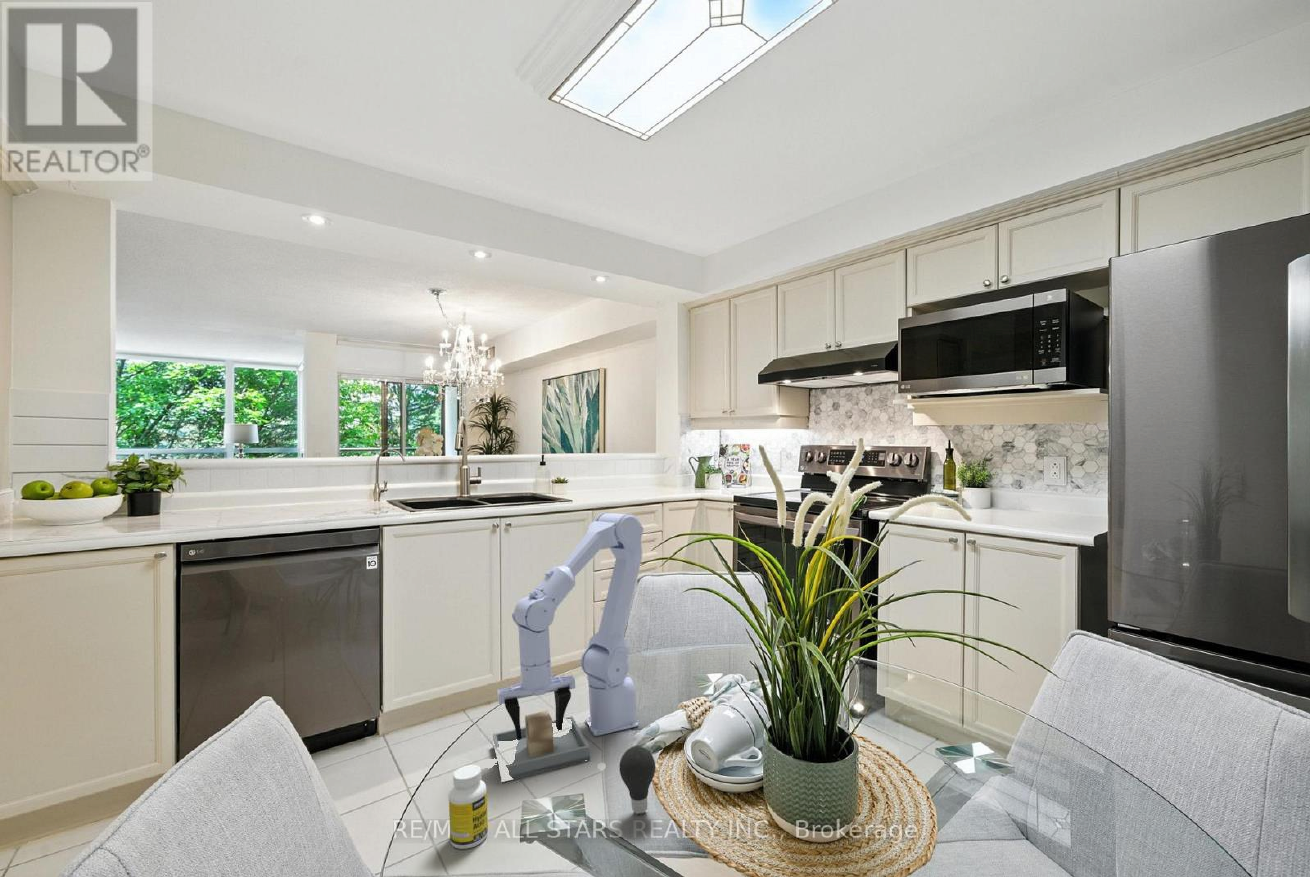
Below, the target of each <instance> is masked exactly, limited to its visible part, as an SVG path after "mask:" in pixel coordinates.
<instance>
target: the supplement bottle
mask: <svg viewBox="0 0 1310 877" xmlns="http://www.w3.org/2000/svg"><path fill="white" fill-rule="evenodd" d="M452 777H453V778H452V779H453V786H452V787H451V789H450V790H449V793H448V807H449V808H448V810H449V816H448V818H449V838H450V844H451V845H452V847H454V848H456V849H459V850H460V849H461V850H466V849H471V848H474V847H476V846H478V845H480V844H481V843H483V842H484V841H485V839H487V837H488V834H489V833H488V832H489V821H488V820H489V818H488V797H487V796H488V794H487V793H488V791H487V785H486V783H485V782H484V780H482V769H481V767H480V766H479V765H478V764H477V765H476V764H469V765H464V766H462V767H460V768H458V769H456V770H455V771H454V772H453V776H452Z"/></svg>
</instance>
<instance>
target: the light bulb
mask: <svg viewBox="0 0 1310 877" xmlns="http://www.w3.org/2000/svg"><path fill="white" fill-rule="evenodd" d="M618 766H619V774H620V777H621V779H622V782H623V783H624V785H625V787H626V788H627V790H628V793H629V796H630V800H631V809H632V811H633V813H636V814H637V813H638V814H641V813H643V814H644V813H645V812H646V811H647V810H648V795H649V789H650V785H651V784H652V780H653V779H654V776H655V772H656V763H655V759H654V756H653V754H652V752H650V750H648V749H647V748H645V747H643V746H641V745H640V746H639V745H637V746H631V747H630V748H628V749H627V750H625V752H624V753H623V754H622V756H621V758H620V761H619V765H618ZM638 814H637V815H638Z"/></svg>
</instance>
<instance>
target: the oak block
mask: <svg viewBox="0 0 1310 877" xmlns="http://www.w3.org/2000/svg"><path fill="white" fill-rule="evenodd" d="M552 721H553V719H552V717H551V715H550V712H549V711H548V710H545V711H544V710H543V711H539V712H536V713H535V712H534V713H530V714H526V715H524V722H525V726H524V727H526V745H527V750H528V752H529V755H530V758H531V757H535V756H539V755H543V754H547V753H551V752H554V746H553V727H552Z"/></svg>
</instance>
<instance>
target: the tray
mask: <svg viewBox="0 0 1310 877" xmlns="http://www.w3.org/2000/svg"><path fill="white" fill-rule="evenodd" d="M565 718H566V719H571V721H572V729H570V730H569V733H567V734H566V735H563V736H561V737H553V746H554V752H551V753H547V754H543V755H539V756H535V757H531V758H530V755H529V752H528V750H527V745H526V726H523V727H520V728H521V739H520V740H518V741H519V742H518V744H517V746H516V750H517V751H516V753H515V760H514V762H513V763H512V764H510V765H506V767H507V768H508V770H509V775H510V776H511V777H512V778H513V779H514V780H515V781H516V780H520V779H522V778H527V777H531V776H534V775H539V774H542V773H547V772H550V771H553V770H554V771H555V770H559V769H561V768H566V767H570V766H573V765H578V764H581V762H582V763H584V762H583V761H585V760H588V761H591V753H590V752H591V750H590V749H591V748H590V745H589V743H588V741H587V739H586V738H585V736H584V734H583V732H582V730H581V729H580V727H579V726H578V724H577V722H576V721H575V718H574V717H573V716H572V715H571V716H567V717H565ZM552 723H556V719H554V720H552ZM516 739H517V737H516V730H515V729H510V730H505V731H502V732H497V733H493V734H492V741H494V744H495V747H496V748H497V747H499V744H498V741H513V740H516ZM588 761H587V762H588ZM514 780H513V781H514Z"/></svg>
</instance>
